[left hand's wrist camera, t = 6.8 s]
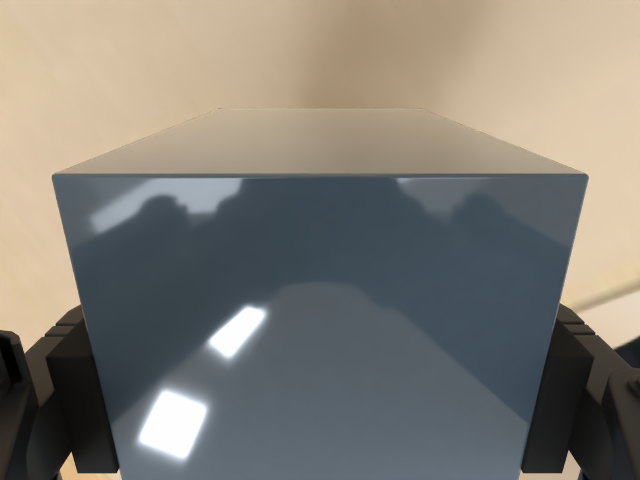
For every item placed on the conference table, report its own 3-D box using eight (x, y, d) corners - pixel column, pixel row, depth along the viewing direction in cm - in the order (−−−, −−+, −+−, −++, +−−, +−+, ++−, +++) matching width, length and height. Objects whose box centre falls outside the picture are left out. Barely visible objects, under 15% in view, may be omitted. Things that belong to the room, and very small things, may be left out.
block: (422, 108, 17) (591, 174, 6) (405, 311, 20) (497, 574, 10) (217, 107, 17) (48, 174, 6) (234, 311, 20) (142, 574, 10)
